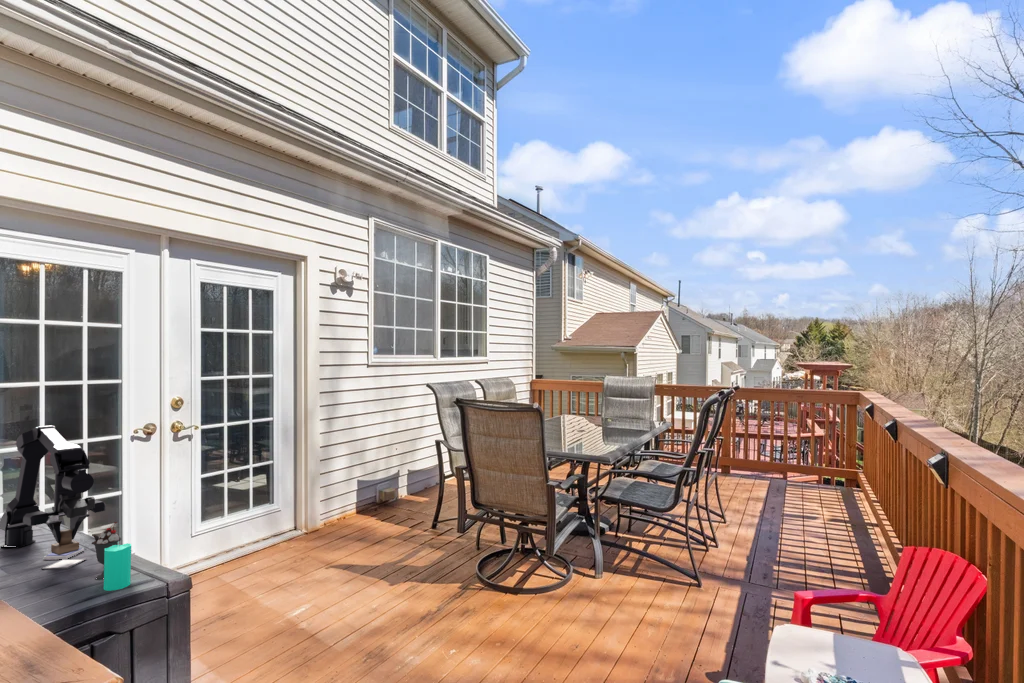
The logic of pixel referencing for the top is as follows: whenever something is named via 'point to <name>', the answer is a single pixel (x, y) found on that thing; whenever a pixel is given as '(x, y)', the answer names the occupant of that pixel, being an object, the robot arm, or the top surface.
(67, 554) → the ink pad
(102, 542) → the sundae
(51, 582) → the top surface
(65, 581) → the top surface
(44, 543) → the top surface
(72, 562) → the marked card
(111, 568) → the candle
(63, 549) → the stamp
